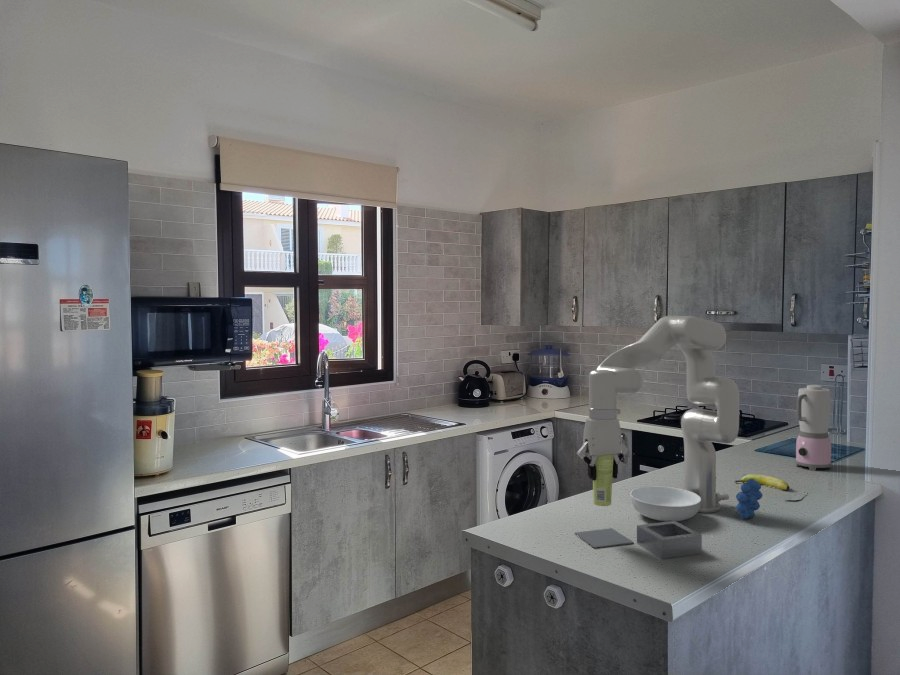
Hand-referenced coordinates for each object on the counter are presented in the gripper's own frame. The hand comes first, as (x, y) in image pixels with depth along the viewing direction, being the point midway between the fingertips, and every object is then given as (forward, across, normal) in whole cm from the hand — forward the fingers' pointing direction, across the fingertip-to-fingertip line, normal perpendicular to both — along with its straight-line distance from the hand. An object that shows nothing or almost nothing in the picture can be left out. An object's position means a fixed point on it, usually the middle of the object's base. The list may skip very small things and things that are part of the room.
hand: (602, 477), depth 189 cm
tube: (+8, 0, 0) cm, 8 cm away
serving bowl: (+18, -27, -11) cm, 34 cm away
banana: (+18, -79, -30) cm, 86 cm away
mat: (+17, 0, 0) cm, 17 cm away
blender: (+17, -114, -45) cm, 124 cm away
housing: (+17, -13, +12) cm, 25 cm away
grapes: (+18, -50, -3) cm, 53 cm away
